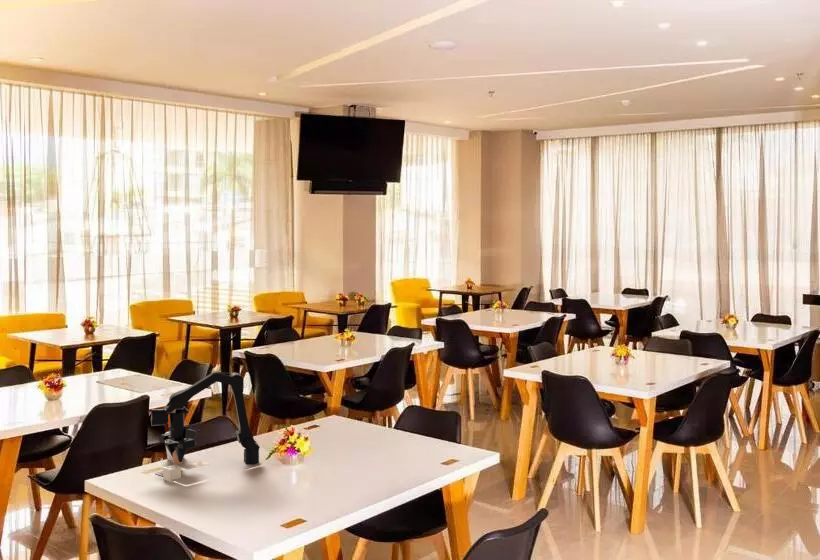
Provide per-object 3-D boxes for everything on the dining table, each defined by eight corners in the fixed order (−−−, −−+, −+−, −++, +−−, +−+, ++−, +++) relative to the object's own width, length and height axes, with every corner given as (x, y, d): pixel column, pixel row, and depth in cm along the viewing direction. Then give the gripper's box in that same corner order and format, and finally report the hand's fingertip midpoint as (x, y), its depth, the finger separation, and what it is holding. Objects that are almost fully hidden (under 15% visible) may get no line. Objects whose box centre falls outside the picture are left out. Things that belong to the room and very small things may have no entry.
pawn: (184, 462, 337) (184, 448, 336) (176, 465, 334) (175, 450, 333) (179, 461, 339) (179, 447, 339) (171, 463, 336) (170, 448, 336)
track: (202, 462, 350) (202, 460, 349) (211, 465, 345) (211, 463, 345) (154, 474, 332) (154, 472, 332) (163, 477, 328) (163, 475, 328)
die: (181, 479, 326) (181, 467, 326) (170, 482, 322) (170, 469, 322) (174, 476, 329) (174, 464, 329) (163, 479, 326) (163, 467, 325)
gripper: (206, 423, 335) (207, 461, 336) (181, 417, 348) (182, 452, 349) (183, 428, 327) (183, 466, 328) (158, 421, 340) (159, 458, 341)
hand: (177, 460), depth 337 cm, fingers closed on pawn, 4 cm apart
